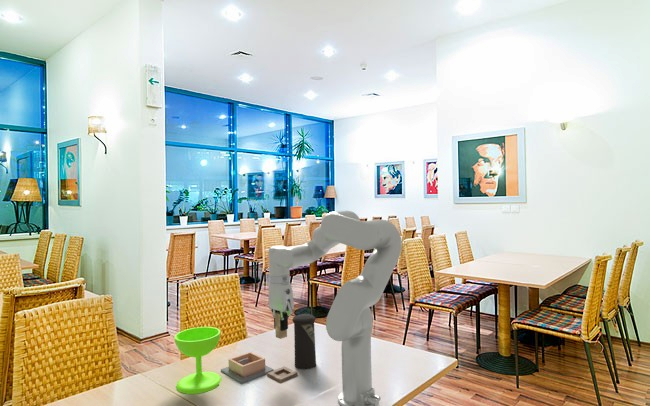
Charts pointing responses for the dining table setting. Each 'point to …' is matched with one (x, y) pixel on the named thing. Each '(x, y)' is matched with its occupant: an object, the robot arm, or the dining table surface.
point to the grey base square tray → (246, 367)
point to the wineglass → (198, 358)
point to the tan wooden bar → (279, 333)
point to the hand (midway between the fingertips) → (281, 328)
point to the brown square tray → (282, 374)
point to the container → (304, 341)
